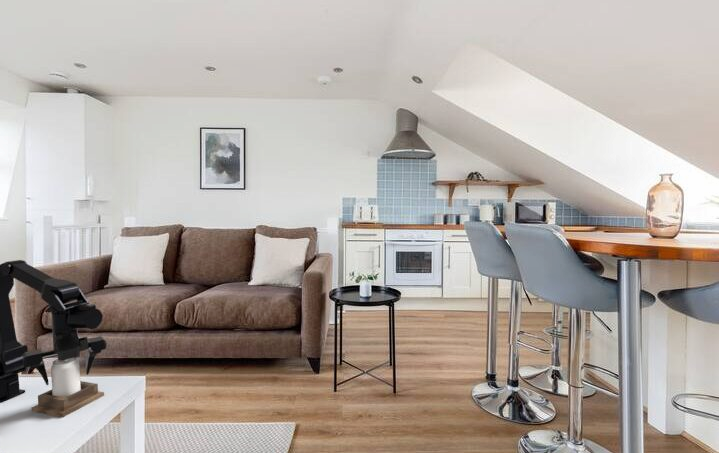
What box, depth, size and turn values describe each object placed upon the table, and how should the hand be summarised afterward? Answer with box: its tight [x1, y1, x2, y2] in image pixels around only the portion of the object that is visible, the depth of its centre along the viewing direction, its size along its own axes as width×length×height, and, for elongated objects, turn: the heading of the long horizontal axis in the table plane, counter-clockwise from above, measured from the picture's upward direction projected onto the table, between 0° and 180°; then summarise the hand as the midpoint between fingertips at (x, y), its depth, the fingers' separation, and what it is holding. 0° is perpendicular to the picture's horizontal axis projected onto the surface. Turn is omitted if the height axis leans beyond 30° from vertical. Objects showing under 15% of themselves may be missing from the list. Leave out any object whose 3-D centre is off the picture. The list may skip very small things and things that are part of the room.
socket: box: [31, 380, 105, 418], centre depth 109 cm, size 12×12×4 cm
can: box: [50, 357, 81, 398], centre depth 108 cm, size 6×6×12 cm
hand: (67, 379), depth 108 cm, fingers open, 9 cm apart
